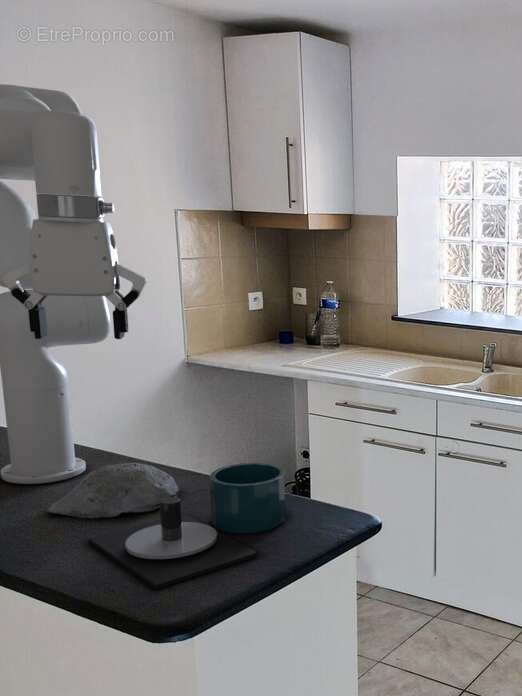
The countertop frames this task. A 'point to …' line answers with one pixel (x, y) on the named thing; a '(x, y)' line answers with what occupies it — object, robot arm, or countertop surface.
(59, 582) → the countertop surface
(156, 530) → the lid
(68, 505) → the stone
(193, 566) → the mat
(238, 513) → the pot
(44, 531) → the countertop surface
